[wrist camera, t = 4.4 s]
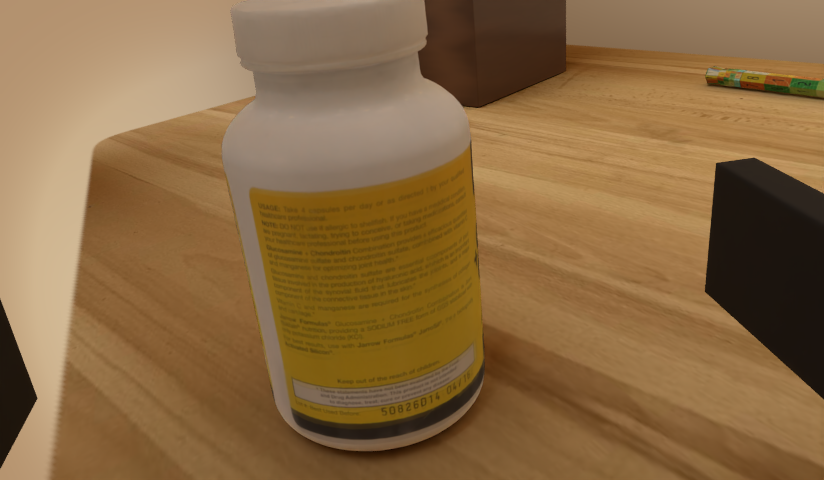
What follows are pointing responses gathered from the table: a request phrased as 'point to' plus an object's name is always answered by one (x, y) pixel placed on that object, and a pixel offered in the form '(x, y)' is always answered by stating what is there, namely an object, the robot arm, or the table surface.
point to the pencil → (765, 81)
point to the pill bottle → (356, 222)
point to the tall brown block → (492, 46)
